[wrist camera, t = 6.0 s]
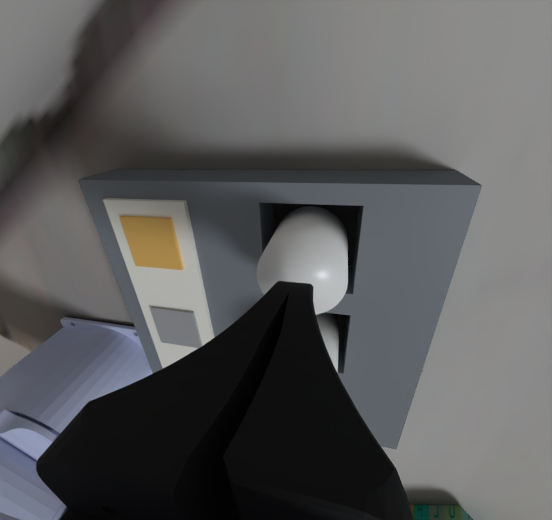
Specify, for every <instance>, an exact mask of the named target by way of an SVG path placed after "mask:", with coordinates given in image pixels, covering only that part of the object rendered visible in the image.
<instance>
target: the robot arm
mask: <svg viewBox="0 0 552 520" xmlns="http://www.w3.org/2000/svg"><path fill="white" fill-rule="evenodd" d="M313 288H314V287H313V286H312V285H311V284H308V283H297V282H287V281H278V282H276V283H275V284H274V285H273V286H272V287H271V288H270V289H269V290H268V292H267V293H266V294H265V295H264V296H263V297H262V298H261V299H260V300H259V301H258V302H256V303H255V304H254V305H253V306H252V307H251V308H250V309H249V310H248V311H247V312H246V313H245V314H243V315H242V316H241V317H240V318H239V319H238V320H236V321H235V322H234V323H233V324H232V325H230V326H229V327H228V328H227V329H225V330H224V331H223V332H221V333H220V334H219V335H217V336H216V337H215V338H213V339H212V340H210V341H209V342H207V343H206V344H204V345H203V346H201V347H200V348H198V349H196V350H195V351H193V352H191V353H190V354H188V355H186V356H185V357H183V358H181V359H180V360H178V361H176V362H174V363H173V364H171V365H169V366H167V367H165V368H163V369H161V370H159V371H157V372H155V373H152V370H151V367H150V365H149V362H148V360H147V357H146V354H145V352H144V349H143V347H142V344H141V341H140V339H139V336H138V334H137V331H136V328H135V327H132V326H125V325H118V324H111V323H104V322H97V321H90V320H83V319H76V318H69V317H63V318H62V319H61V320H60V322H61V324H62V326H63V328H62V329H60V330H59V331H58V332H56V333H55V334H54V335H53V336H51V337H50V338H49V339H47V340H46V341H45V342H44V343H42V344H41V345H40V346H39V347H37V348H36V349H35V350H33V351H32V352H31V353H30V354H28V355H27V356H26V357H24V358H23V359H22V360H21V361H19V362H18V363H17V364H16V365H14V366H13V367H12V368H11V369H9V370H8V371H7V372H6V373H5V374H3V375H2V376H1V377H0V520H414V518H413V514H412V511H411V508H410V505H409V502H408V499H407V496H406V493H405V491H404V488H403V485H402V483H401V480H400V477H399V475H398V472H397V470H396V468H395V466H394V465H393V463H392V462H391V461H390V459H389V458H388V456H387V455H386V453H385V452H384V451H383V449H382V448H381V446H380V445H379V443H378V442H377V440H376V439H375V437H374V436H373V434H372V433H371V431H370V430H369V428H368V426H367V425H366V423H365V422H364V420H363V418H362V417H361V415H360V413H359V412H358V410H357V409H356V407H355V405H354V403H353V401H352V400H351V398H350V396H349V394H348V392H347V391H346V389H345V387H344V385H343V383H342V382H341V380H340V378H339V375H338V373H337V371H336V369H335V367H334V365H333V363H332V360H331V358H330V356H329V354H328V351H327V349H326V346H325V343H324V341H323V338H322V335H321V332H320V329H319V325H318V322H317V318H316V314H315V309H314V303H313Z"/></svg>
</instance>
